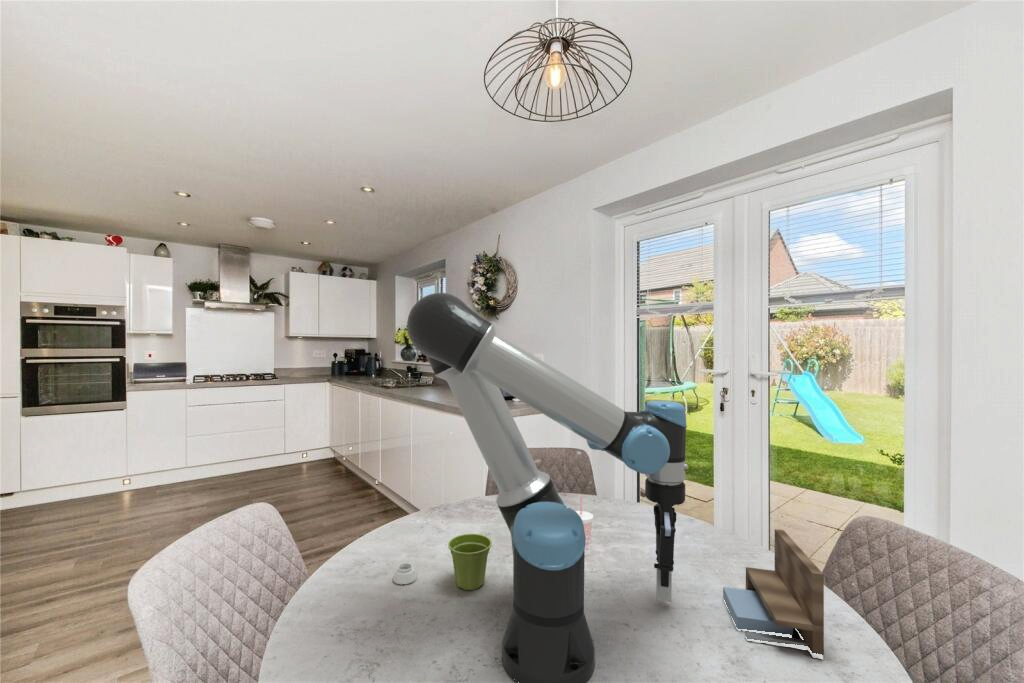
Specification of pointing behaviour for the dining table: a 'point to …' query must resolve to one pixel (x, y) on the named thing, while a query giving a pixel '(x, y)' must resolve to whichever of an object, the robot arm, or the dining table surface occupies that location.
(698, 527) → the dining table surface
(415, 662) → the dining table surface
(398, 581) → the white jar
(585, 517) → the beverage cup
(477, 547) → the plant pot
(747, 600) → the light blue block
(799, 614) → the shelf
